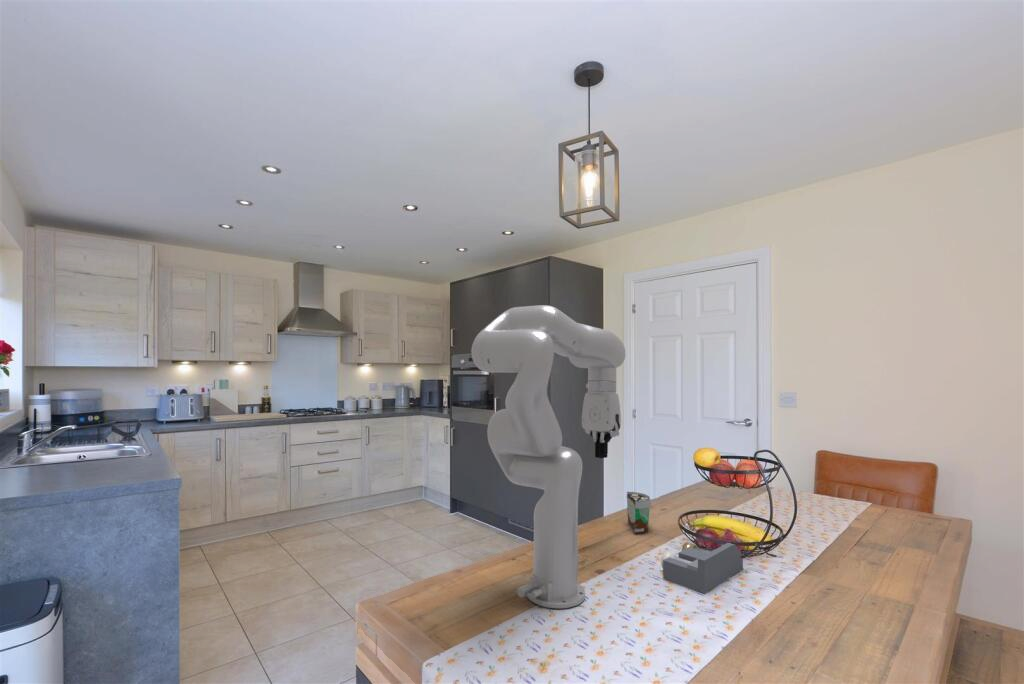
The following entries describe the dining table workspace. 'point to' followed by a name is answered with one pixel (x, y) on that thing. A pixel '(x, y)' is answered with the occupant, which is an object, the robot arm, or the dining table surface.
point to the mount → (703, 567)
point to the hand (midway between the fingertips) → (601, 457)
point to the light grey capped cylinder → (671, 555)
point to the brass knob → (687, 545)
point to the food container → (638, 512)
